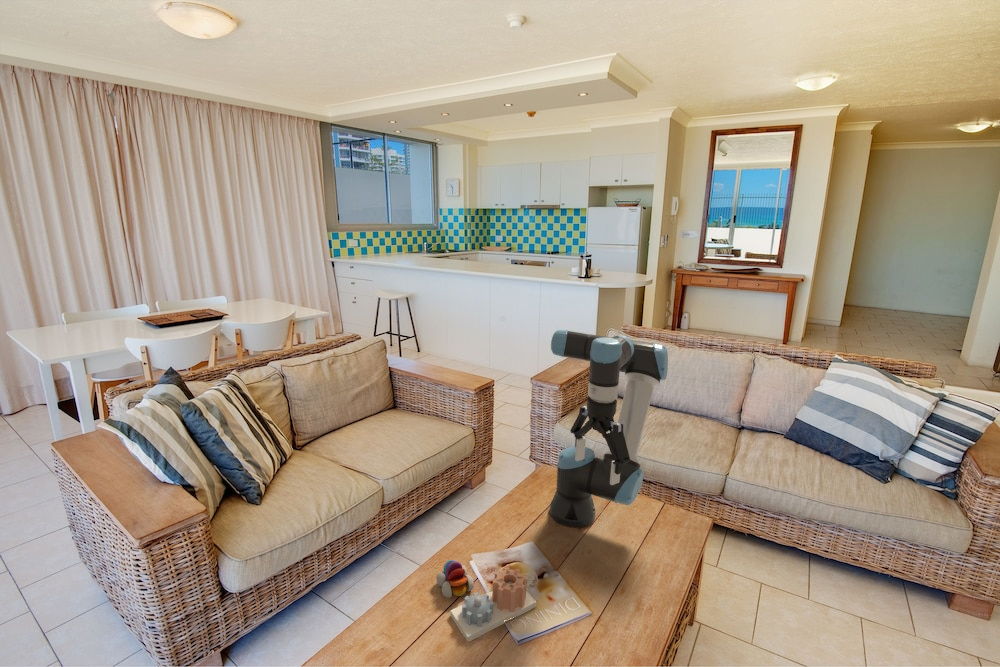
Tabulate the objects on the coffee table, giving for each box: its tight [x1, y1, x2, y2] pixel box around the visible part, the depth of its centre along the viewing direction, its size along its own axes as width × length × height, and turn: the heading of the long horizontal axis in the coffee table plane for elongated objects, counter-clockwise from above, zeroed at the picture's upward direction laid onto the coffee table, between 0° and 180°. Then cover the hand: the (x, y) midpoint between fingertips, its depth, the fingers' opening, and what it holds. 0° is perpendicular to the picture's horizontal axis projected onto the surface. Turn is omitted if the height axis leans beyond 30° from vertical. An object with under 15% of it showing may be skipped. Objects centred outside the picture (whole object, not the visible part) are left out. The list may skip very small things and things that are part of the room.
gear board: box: [449, 581, 537, 643], centre depth 120 cm, size 9×20×6 cm, turn 123°
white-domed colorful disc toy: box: [435, 559, 475, 599], centre depth 128 cm, size 8×10×7 cm
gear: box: [492, 566, 528, 612], centre depth 122 cm, size 8×8×6 cm
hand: (596, 471), depth 129 cm, fingers open, 13 cm apart
